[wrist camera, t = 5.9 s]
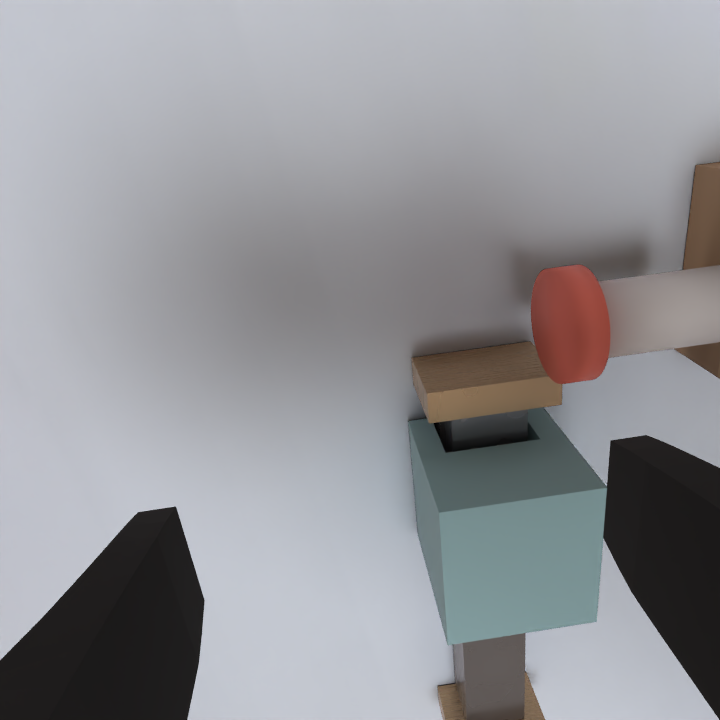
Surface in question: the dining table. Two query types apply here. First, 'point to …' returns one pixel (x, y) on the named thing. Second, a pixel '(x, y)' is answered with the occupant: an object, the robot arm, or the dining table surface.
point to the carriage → (509, 531)
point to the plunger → (619, 317)
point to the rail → (470, 431)
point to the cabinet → (704, 248)
